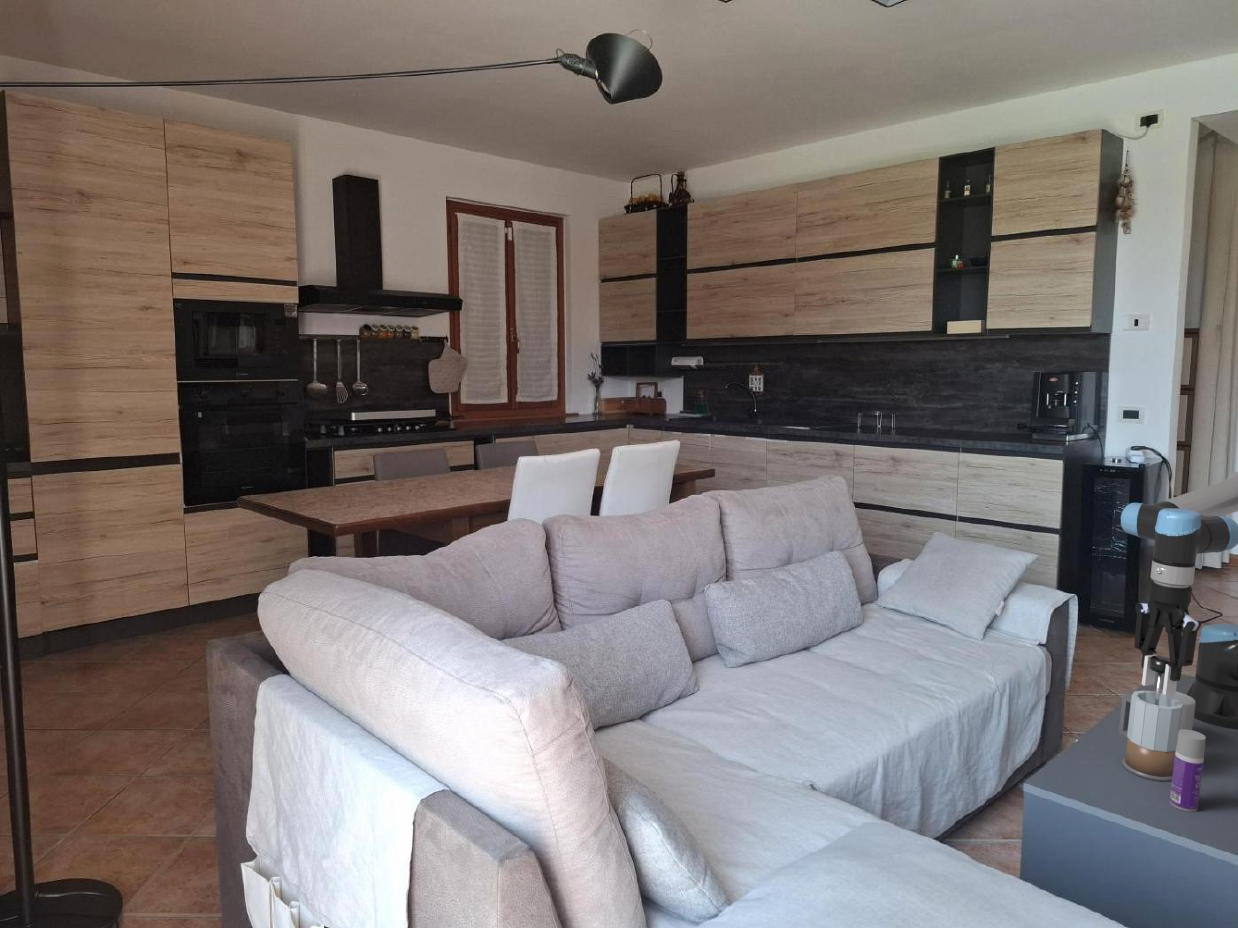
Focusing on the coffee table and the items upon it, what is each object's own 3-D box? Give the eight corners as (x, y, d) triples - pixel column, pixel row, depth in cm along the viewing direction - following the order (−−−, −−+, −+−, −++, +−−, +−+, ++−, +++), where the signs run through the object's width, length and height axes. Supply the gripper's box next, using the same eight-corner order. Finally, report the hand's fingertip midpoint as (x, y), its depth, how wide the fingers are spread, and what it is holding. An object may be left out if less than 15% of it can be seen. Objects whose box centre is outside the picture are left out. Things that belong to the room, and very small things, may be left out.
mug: (1184, 754, 188) (1189, 707, 186) (1141, 740, 194) (1146, 695, 193) (1199, 738, 196) (1205, 694, 194) (1158, 725, 202) (1163, 682, 201)
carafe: (1136, 750, 189) (1144, 683, 187) (1188, 778, 177) (1197, 706, 175) (1101, 755, 186) (1109, 687, 184) (1151, 784, 174) (1160, 711, 172)
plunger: (1151, 729, 183) (1160, 652, 181) (1176, 742, 177) (1185, 663, 175) (1129, 732, 181) (1138, 655, 179) (1154, 745, 176) (1163, 665, 173)
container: (1198, 814, 163) (1207, 742, 161) (1169, 806, 166) (1178, 735, 163) (1196, 803, 167) (1205, 732, 165) (1168, 796, 170) (1177, 726, 167)
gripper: (1121, 572, 182) (1110, 675, 185) (1196, 596, 165) (1182, 707, 169) (1148, 570, 184) (1136, 672, 187) (1224, 593, 167) (1210, 704, 171)
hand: (1158, 688), depth 178 cm, fingers open, 4 cm apart
